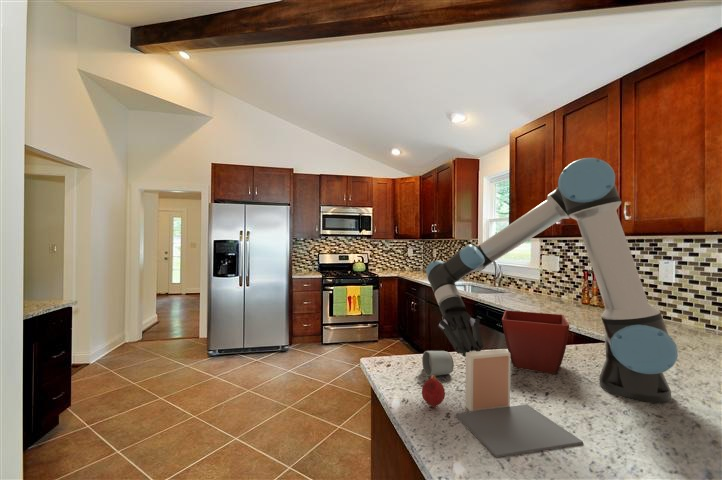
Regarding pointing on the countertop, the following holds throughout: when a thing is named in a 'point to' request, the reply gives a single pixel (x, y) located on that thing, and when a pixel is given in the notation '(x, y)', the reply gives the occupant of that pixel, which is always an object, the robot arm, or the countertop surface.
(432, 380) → the onion
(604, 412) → the countertop surface
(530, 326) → the plant pot
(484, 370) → the tile
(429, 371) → the ceramic mug
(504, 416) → the mat
